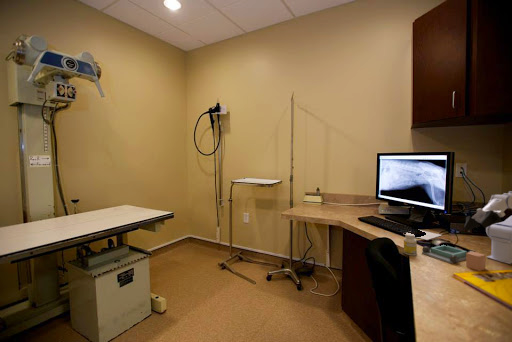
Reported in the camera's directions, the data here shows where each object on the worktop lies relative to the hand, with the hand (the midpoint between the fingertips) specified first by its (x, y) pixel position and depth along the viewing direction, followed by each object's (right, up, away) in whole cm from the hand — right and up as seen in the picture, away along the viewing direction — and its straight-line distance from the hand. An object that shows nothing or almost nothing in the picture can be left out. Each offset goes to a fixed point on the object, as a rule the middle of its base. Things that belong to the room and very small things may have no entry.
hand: (474, 227), depth 101 cm
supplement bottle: (-15, -18, +18) cm, 30 cm away
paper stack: (+8, -16, +40) cm, 44 cm away
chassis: (+1, -17, +15) cm, 22 cm away
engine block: (+2, -18, +1) cm, 18 cm away
